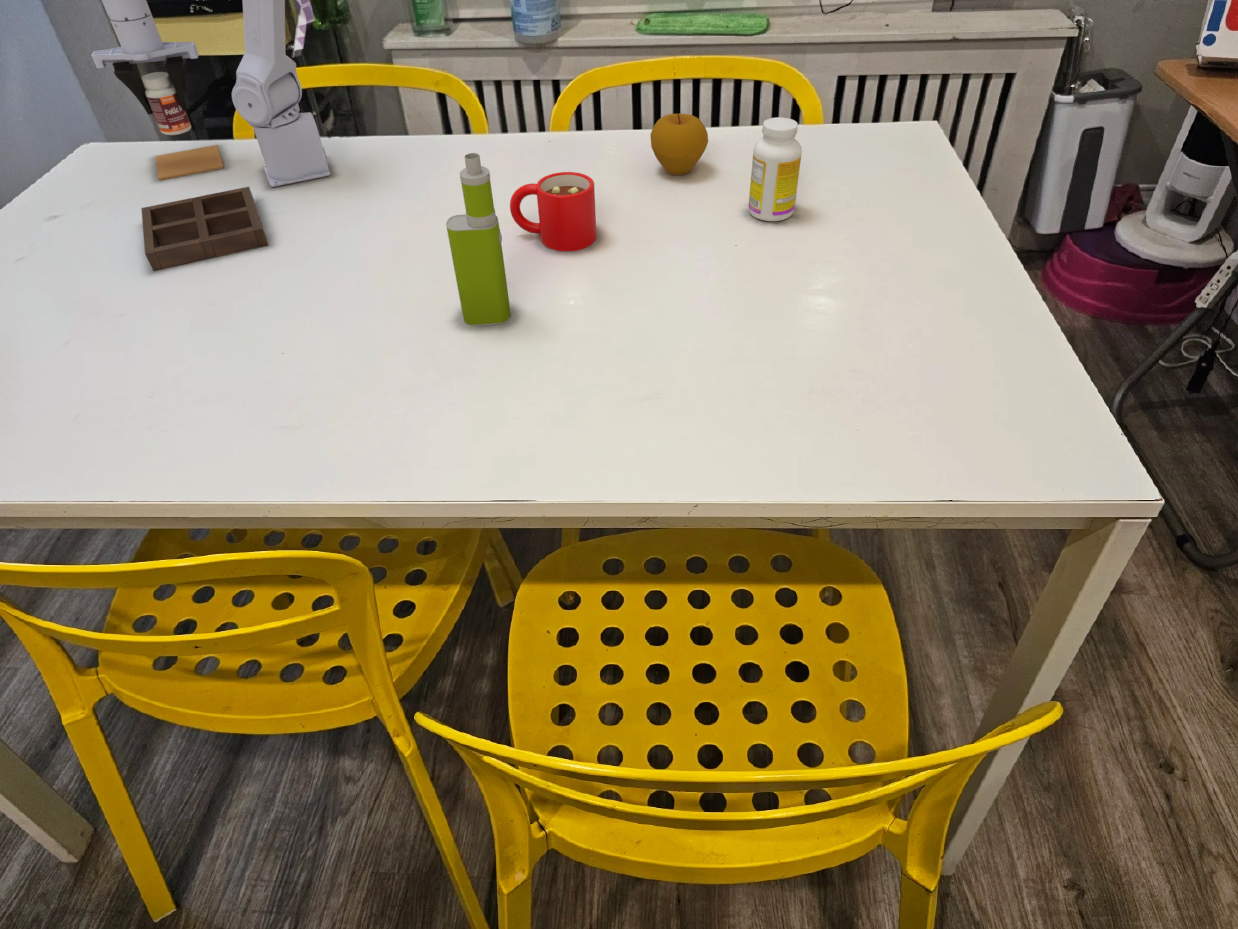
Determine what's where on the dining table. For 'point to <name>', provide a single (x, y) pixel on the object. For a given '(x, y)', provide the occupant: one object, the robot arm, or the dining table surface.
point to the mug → (560, 210)
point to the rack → (201, 228)
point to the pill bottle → (165, 104)
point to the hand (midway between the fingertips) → (168, 110)
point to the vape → (478, 250)
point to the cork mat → (188, 162)
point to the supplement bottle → (775, 171)
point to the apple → (678, 142)
